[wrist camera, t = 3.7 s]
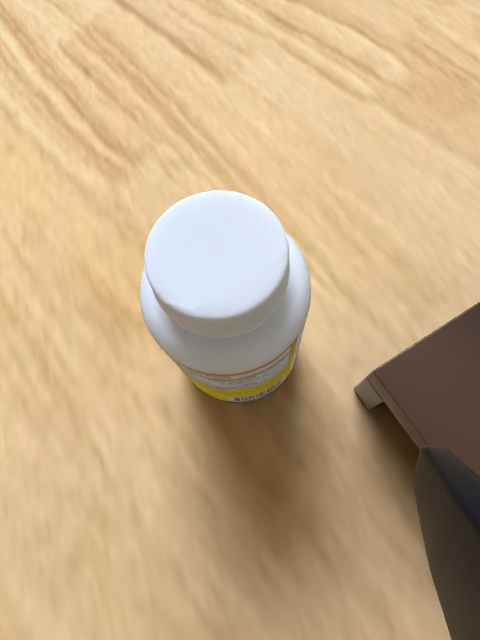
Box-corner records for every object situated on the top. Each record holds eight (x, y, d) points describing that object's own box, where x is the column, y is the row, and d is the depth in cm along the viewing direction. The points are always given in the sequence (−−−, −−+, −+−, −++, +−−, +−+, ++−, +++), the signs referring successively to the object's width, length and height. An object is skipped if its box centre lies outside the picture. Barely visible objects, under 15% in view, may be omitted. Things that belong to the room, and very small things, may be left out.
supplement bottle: (220, 277, 23) (187, 135, 13) (316, 329, 21) (358, 214, 12) (160, 369, 21) (71, 286, 12) (259, 429, 20) (253, 393, 10)
